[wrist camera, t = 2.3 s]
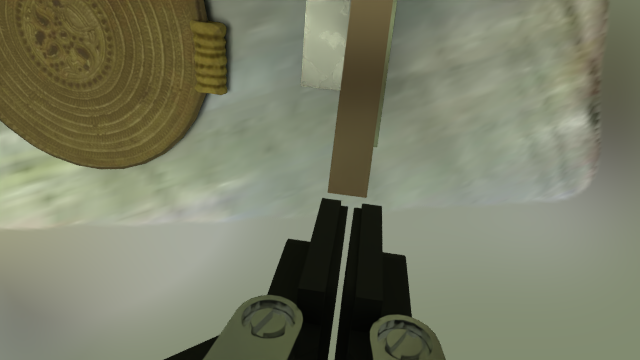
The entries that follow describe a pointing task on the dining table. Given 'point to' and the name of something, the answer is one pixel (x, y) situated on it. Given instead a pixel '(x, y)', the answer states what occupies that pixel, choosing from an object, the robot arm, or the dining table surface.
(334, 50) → the frame post
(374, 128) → the picture frame
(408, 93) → the dining table surface
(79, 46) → the decorative disc
